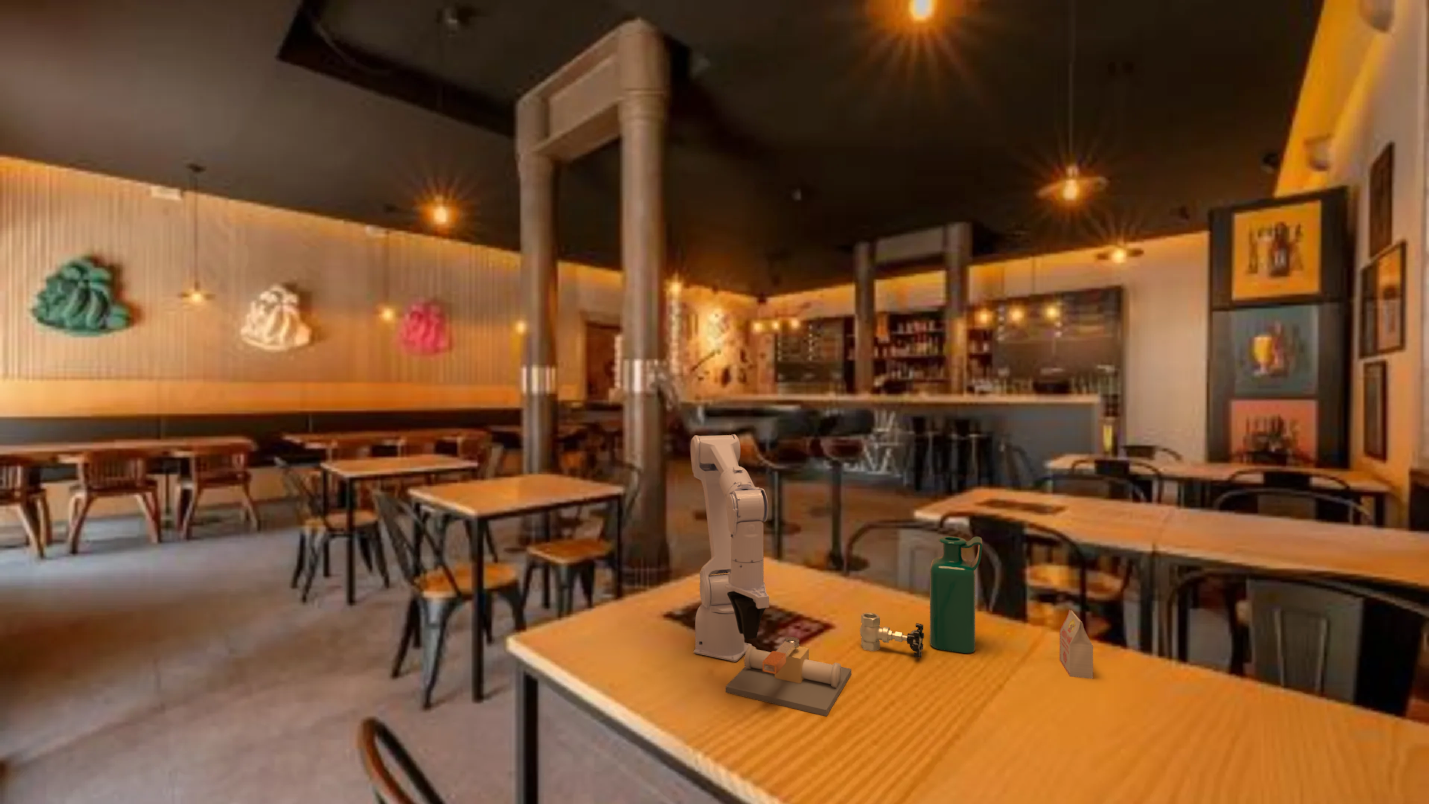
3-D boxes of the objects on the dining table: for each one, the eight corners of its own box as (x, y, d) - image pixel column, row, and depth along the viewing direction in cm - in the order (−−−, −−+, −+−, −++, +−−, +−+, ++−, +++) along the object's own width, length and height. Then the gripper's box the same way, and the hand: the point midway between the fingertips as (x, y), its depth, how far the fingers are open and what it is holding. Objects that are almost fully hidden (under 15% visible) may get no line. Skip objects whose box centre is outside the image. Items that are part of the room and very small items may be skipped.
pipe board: (725, 692, 106) (725, 661, 106) (760, 655, 121) (760, 628, 121) (826, 716, 98) (826, 683, 98) (851, 674, 113) (851, 645, 112)
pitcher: (929, 649, 123) (929, 540, 122) (931, 633, 131) (931, 531, 130) (982, 656, 119) (982, 544, 119) (981, 640, 127) (981, 534, 127)
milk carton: (1081, 662, 117) (1081, 610, 116) (1092, 678, 110) (1093, 623, 110) (1059, 660, 118) (1059, 608, 117) (1070, 676, 111) (1070, 622, 111)
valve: (856, 652, 122) (918, 664, 117) (855, 619, 122) (918, 630, 116) (864, 639, 128) (924, 651, 122) (864, 608, 128) (924, 618, 122)
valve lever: (787, 644, 112) (787, 634, 112) (801, 647, 111) (801, 636, 111) (762, 673, 101) (762, 661, 101) (776, 676, 100) (776, 664, 100)
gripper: (712, 550, 113) (713, 623, 113) (740, 572, 99) (741, 655, 99) (748, 546, 115) (748, 618, 115) (780, 568, 101) (780, 649, 102)
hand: (747, 635), depth 107 cm, fingers closed
